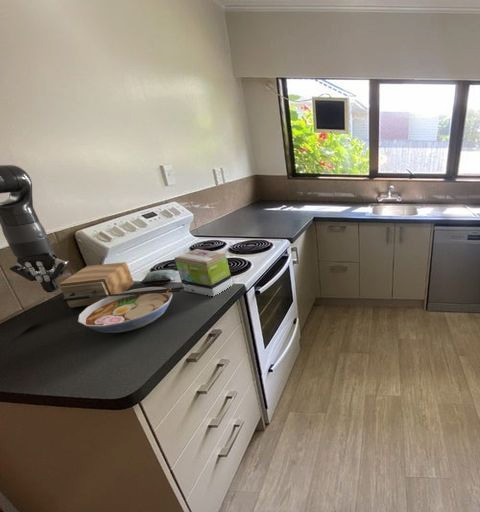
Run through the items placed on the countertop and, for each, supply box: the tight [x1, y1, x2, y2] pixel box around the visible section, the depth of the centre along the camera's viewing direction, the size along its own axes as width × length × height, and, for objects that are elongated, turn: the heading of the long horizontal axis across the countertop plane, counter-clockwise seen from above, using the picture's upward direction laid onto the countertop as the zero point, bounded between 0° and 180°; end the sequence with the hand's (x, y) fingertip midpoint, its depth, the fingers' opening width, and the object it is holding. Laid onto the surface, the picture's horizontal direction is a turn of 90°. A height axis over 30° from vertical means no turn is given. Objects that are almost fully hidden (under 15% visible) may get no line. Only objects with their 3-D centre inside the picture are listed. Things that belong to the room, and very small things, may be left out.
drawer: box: [59, 281, 110, 308], centre depth 104 cm, size 19×11×8 cm, turn 18°
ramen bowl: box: [77, 286, 184, 334], centre depth 91 cm, size 25×23×8 cm
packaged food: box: [139, 269, 179, 286], centre depth 119 cm, size 9×12×5 cm
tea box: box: [174, 248, 234, 298], centre depth 111 cm, size 15×10×15 cm
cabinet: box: [59, 261, 135, 308], centre depth 108 cm, size 16×13×10 cm
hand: (52, 291), depth 89 cm, fingers closed
